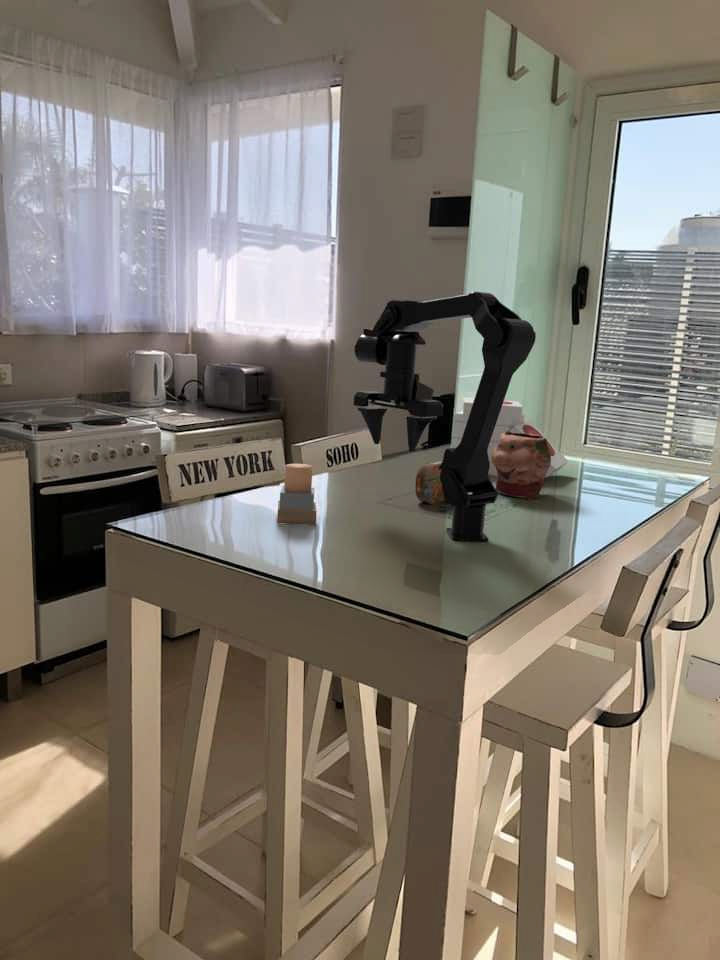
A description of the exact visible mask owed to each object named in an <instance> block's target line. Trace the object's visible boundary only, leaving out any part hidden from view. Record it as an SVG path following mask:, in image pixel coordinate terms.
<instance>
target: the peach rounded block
mask: <svg viewBox="0 0 720 960" xmlns="http://www.w3.org/2000/svg"><path fill="white" fill-rule="evenodd" d="M283 482H284V485H283V486H284V490H285V491H287V492H291V493H308V492H311V488H313V485H312V484H313V465H309V464H305V463H289V464H285V465H284V481H283Z"/></svg>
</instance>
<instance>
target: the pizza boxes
mask: <svg viewBox="0 0 720 960" xmlns="http://www.w3.org/2000/svg"><path fill="white" fill-rule="evenodd" d="M474 399H475V397H462V405H461V411H458V412H457V411H456V412H454V413H453V422H452V433H451V444H450V445H451V446H450V448H456V447H457V446H458V445H459V444H460V442H461V439H462V436H463V433H464V430H465V427H466V424H467V421H468V417H469V414H470V411H471V408H472V405H473V402H474ZM525 417H526V415H525V414H523V405H522V404H521V403H519V401H517V400H514V401H513V400H504V402H503V405H502V408H501V411H500V413H499V416H498V419H497V422H496V425H495V428H494V431H493V434H492V437H491V440H490V443H489V446H488V450H487V453H488V458H489V463H490V467H489V473H488V476H489V475H491V476H495V477H497V470H496V468H495V466H494V464H493V462H492V457H491V455H492V451H493V449H494V448H495V447H496V446H497V445H498V444H499V442H500V436H501V434H503V433H505V432H507V431H509V432H512V433H523V434H531V435H539V436H543V437H545V438H546V439H547V444H548V448H549V450H550V454H551V463H550V467H549V469H548V471H547V473H546V476H545V478H549V477H550V476H552V475H553V474H555V473H557V472H558V471H560V470H561V469H562V468H564V466H566V465H567V464H568V463H569V460H568V459H567V458H566V457H565V456H564V455H563V454H562V453H561V452H560V450H559V449H557V447H555V445H554V444H553V443H552V442H551V441H550V440H549V439H548V438H547V437H546V436H545V435H544V433H542V431H540V430H539V428H538V427H537V426H536V425H535V424H534V423H533V422H532V421H531V420H528V421H526V422H525Z"/></svg>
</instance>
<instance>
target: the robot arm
mask: <svg viewBox="0 0 720 960" xmlns="http://www.w3.org/2000/svg"><path fill="white" fill-rule="evenodd" d="M468 318H471V319H472V321H473V324H474V328H475V330H476V331H477V332H478V333H479V335H480V336H481V337H483V340H482V346H481V354H482V360H483V364H484V367H483V371H482V374H481V377H480V381H479V384H478V387H477V389H476V393H475V395H474V398H475V399H474V402H473V405H472V408H471V411H470V414H469V417H468V421H467V424H466V427H465V430H464V433H463V436H462V439H461V442H460V444H459V445H458V446H457V447H456V448H451V447H450V448H446V449H445V451H444V452H443V458H442V461H443V462H442V464H441V466H440V467H439V470H440V469H441V472H440V481H441V483H442V489H443V494H444V500H445V501H444V503H445V504H449V505H450V507H452V520H451V527H446V528H445V532H446V533H447V534H448V535H449V536H450V538H451V540H455V541H471V542H472V541H473V542H475V541H476V542H489V537H488V536H487V535H486V533H484V529H485V528H484V527H485V517H486V506H487V504H495V503H496V500H497V498H498V496H499V492H497V490H496V486H495V485H494V483H493V482H492V481H491V479H490V477H489V475H488V473H489V467H490V463H489V458H488V453H487V450H488V446H489V443H490V440H491V437H492V434H493V431H494V428H495V425H496V422H497V419H498V416H499V413H500V411H501V408H502V405H503V402H504V401H505V398H506V396H507V393H508V389H509V387H510V383H511V381H512V378H513V375H514V374H515V372H517V370H518V369H519V368H520V367H521V366H522V365H523V364H524V363H525V362H526V360H527V358H528V357H529V354H530V353H531V351H532V349H533V347H534V345H535V343H536V337H537V336H536V335H537V333H536V332H535V330H534V327H533V326H532V324H531V323H530V322H528V320H525V319H522V318H521V317H520V316H519V315H518V314H517V313H515V312H514V311H513V310H512V309H510V308H509V307H507V306H506V305H504V304H503V303H502V302H501V301H500V300H499V299H498V298H497V297H496V296H495V295H494V294H492V293H490V292H483V291H482V292H481V291H472V292H471V293H467V294H460V295H456V296H449V297H444V298H443V297H442V298H437V299H431V300H426V301H416V300H404V299H391V300H389V301H387V302H386V306H385V308H384V309H383V312H382V313H381V314H380V316H379V317H378V320H377V321H376V323H375V324H374V326H373V328H364V329H363V333H362V334H361V336H359V337H358V338H357V340H356V343H355V345H354V354H355V355H354V356H355V357H356V359H357V360H358V361H359V362H360V363H363V364H371V365H372V364H373V365H380V366H384V371H380V373H379V377H380V378H383V379H384V381H383V391H382V392H381V391H374V390H363V391H358V390H357V392H356V393H355V394H354V396H353V406H355V407H357V411H359V412H360V413H361V415H362V418H363V419H364V421H365V424H366V426H367V428H368V431H369V434H370V436H371V439H372V441H373V444H374V445H380V442H381V437H382V428H383V427H382V426H383V417H384V415H385V414H386V412H387V411H388V408H393V409H398V410H403V411H408V413H409V416H406V418H405V419H406V432H407V433H406V434H407V445H408V451H409V452H410V453H413V452H415V451H416V448H417V446H418V444H419V442H420V439H421V437H422V434H423V433H424V431H425V429H426V428H427V426H429V424H430V423H431V422H432V421H435V420H437V418H438V417H443V416H444V405H443V404H442V402H441V400H434V399H432V398H433V395H434V392H435V390H434V389H433V388H431V387H429V386H428V385H426V384H424V383H422V382H420V374H419V373H417V372H416V373H415V370H416V359H417V346H418V345H419V346H420V345H421V346H424V345H426V341H425V339H424V337H422V335H420V332H419V331H421V330H423V329H426V328H428V327H429V326H430V325H432V324H435V323H440V322H447V321H454V320H461V319H463V320H464V319H468ZM392 401H393V402H392ZM387 407H388V408H387ZM469 493H471V494H469Z"/></svg>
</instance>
